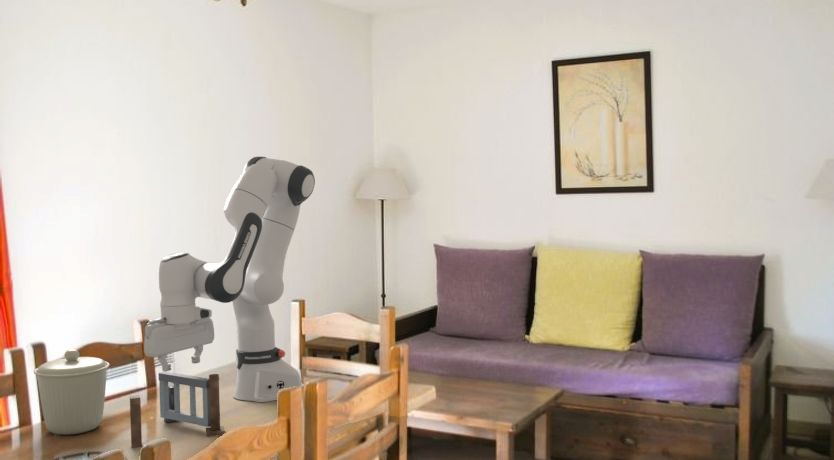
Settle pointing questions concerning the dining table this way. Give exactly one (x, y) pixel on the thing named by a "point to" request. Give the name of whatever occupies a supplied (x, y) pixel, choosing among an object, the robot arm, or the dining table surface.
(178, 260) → the robot arm
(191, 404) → the gate
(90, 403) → the canister
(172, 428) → the dining table surface
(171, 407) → the stop post
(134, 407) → the gate frame
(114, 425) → the dining table surface
